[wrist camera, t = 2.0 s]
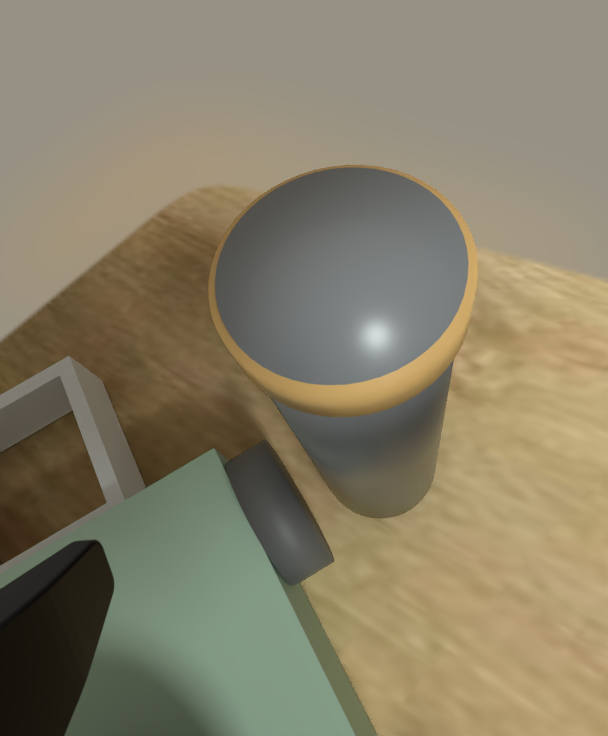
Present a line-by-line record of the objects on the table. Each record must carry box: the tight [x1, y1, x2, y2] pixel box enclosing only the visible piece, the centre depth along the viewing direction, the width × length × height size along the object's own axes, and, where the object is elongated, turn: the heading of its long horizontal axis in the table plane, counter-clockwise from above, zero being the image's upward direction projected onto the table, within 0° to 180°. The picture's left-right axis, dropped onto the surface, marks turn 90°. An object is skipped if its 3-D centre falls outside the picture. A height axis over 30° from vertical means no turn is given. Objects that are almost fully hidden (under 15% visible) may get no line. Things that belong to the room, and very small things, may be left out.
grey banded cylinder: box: [208, 165, 478, 518], centre depth 14 cm, size 4×4×12 cm
